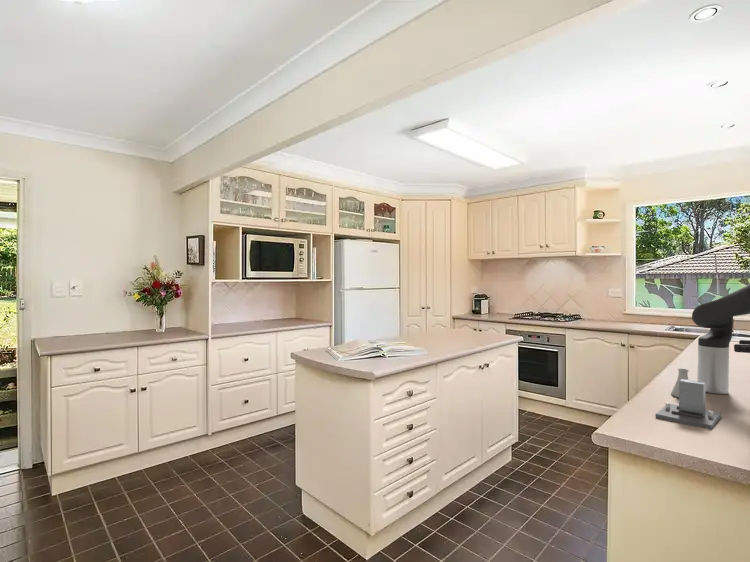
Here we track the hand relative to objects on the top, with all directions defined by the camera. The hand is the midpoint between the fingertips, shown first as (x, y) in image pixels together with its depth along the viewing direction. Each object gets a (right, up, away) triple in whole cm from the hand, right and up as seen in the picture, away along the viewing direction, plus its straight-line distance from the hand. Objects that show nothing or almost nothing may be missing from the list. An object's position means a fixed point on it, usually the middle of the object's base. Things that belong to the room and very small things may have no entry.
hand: (736, 345), depth 123 cm
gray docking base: (-8, -23, +8) cm, 26 cm away
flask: (+7, -24, +31) cm, 40 cm away
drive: (-7, -22, +7) cm, 25 cm away
